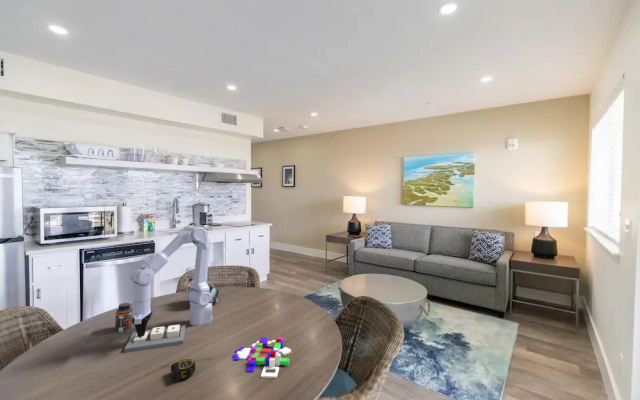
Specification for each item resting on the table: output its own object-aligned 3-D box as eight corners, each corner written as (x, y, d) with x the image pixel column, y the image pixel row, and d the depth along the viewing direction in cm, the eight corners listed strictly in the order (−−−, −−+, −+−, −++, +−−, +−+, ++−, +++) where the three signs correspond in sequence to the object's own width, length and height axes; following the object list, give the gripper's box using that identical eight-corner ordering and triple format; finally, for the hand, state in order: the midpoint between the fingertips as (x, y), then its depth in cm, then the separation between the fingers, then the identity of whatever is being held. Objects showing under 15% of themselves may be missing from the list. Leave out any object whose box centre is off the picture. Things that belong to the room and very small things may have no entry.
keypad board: (185, 330, 125) (185, 325, 125) (183, 346, 112) (183, 340, 112) (133, 337, 118) (133, 331, 118) (124, 355, 105) (124, 348, 105)
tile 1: (164, 335, 118) (164, 325, 118) (162, 342, 113) (162, 332, 113) (153, 336, 117) (153, 327, 117) (150, 343, 111) (150, 333, 111)
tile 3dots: (148, 340, 116) (148, 330, 116) (145, 347, 111) (145, 337, 111) (136, 341, 115) (137, 332, 115) (133, 349, 109) (133, 339, 109)
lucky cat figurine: (217, 307, 152) (202, 283, 146) (192, 317, 151) (177, 294, 146) (222, 288, 167) (209, 266, 162) (200, 297, 167) (186, 275, 162)
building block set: (243, 340, 119) (243, 329, 119) (294, 341, 119) (294, 330, 119) (221, 378, 94) (222, 364, 94) (285, 380, 94) (286, 366, 94)
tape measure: (170, 373, 95) (170, 362, 95) (192, 366, 99) (193, 355, 99) (173, 384, 90) (173, 372, 90) (197, 377, 94) (197, 365, 94)
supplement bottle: (123, 335, 120) (124, 307, 120) (111, 333, 121) (111, 306, 121) (135, 328, 126) (136, 302, 126) (123, 327, 127) (124, 301, 127)
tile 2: (179, 333, 120) (179, 324, 120) (178, 339, 115) (178, 330, 115) (168, 334, 119) (168, 325, 119) (166, 341, 113) (166, 331, 113)
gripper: (134, 295, 118) (133, 328, 118) (124, 307, 104) (124, 346, 105) (154, 293, 121) (153, 326, 121) (147, 305, 107) (146, 343, 107)
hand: (141, 335), depth 113 cm, fingers closed, pressing on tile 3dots
